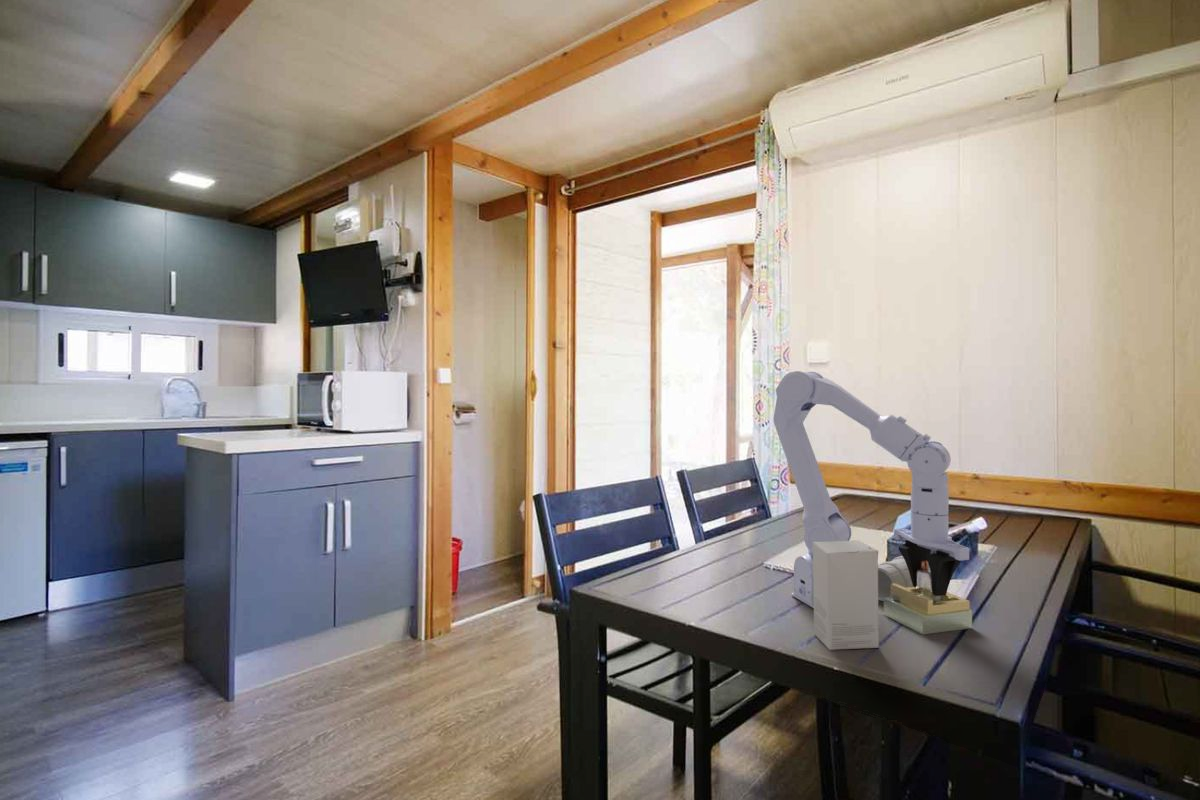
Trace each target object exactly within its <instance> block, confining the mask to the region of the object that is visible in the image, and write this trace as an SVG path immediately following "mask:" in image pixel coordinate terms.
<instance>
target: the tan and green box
mask: <svg viewBox="0 0 1200 800" xmlns="http://www.w3.org/2000/svg"><path fill="white" fill-rule="evenodd" d="M970 604H971V601H970V600H968V599H966V598H963V597H960V596H958V595H955V594H953V593H950V592H948V591H947V593H946V595H943V602H936V603H933V599H931V598H928V597H926V596H924V595H921V594H919V593H917V587H908V588H905V587H903V586H900V585H898V584H896V583H894V584H891V597H887V598H884V601H883V615H884V616H886V617H887V618H888V619H889V618H890V619H892V620H894V621H896V622H897V623H900V624H901V625H903V626H905V627H907V628H909V629H911V630H913V631H915V632H917V633H919V634H921V635H931V634H936V633H945V632H953V631H961V630H967V629H968V630H969V629H973V610H972V609H971V606H970Z"/></svg>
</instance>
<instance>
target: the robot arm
mask: <svg viewBox="0 0 1200 800" xmlns="http://www.w3.org/2000/svg"><path fill="white" fill-rule="evenodd" d="M775 394H776V400H775V406H774V407H775V408H774V414H773V425H774V427H775V430H776V432H777V435H778V438H779V441H780V444H781V447H782V450H783V453H784V456H785V458H786V461H787V464H788V466H789V470H790V473H791V474H792V478H793V481H794V485H795V486H796V490H797V492H798V495H799V497H800V500H801V503H802V506H803V512H802V523H803V527H804V535H803V540H804V543H805V546H806V548H807V552H806V553H805V554H804V555H800V556H797V557H796V558H795V560H794V564H793V592H791V596H793V598H795V599H798V600H799V601H801V602H803V604H805V605H808V606H809V607H811V608H813V609H814V579H813V542H830V541H851V539H852V528H851V525H850V523H848V521H847V520H846V518H844V517H843V516H842V514H841V512H840V510H839V507H838V506H837V505H836V504H835V502H834V501H833V500H832V498H831V496H830V494H829V491H828V488H827V486H826V483H825V480H824V477H823V474H822V472H821V470H820V469H821V468H820V466H819V462H818V460H817V457H816V455H815V453H814V450H813V447H812V444H811V440H810V439H809V436H808V433H807V430H806V428H805V425H804V421H805V420H806V418H807V417H808V415H809V413H810V411H811V410H812V408H814V407H815V406H816V405H824V406H831V407H833V408H834V409H837V410H838V411H840V413H843V414H844V415H846V416H847V417H848V418H850V419H852V420H854V421H855V422H857V423H858V424H860V425H861V426H862V427H864V428H866V429H868V430H869V434H870V437H871V440H872V441H873V442H874V443H876V444H877V445H878V446H880V447H881V448H883V449H884V450H886V451H887V452H888V453H890V454H891V455H893V457H895V458H896V459H898V460H900V461H901V462H906V463H907V467H908V469H909V470H910V472H911V485H910V529H907V528H904V527H902V528H900V527H899V528H894V529H893V538H894V540H896V541H903V542H904V544H902V545H901V544H900V545H898V551H899V553H900V554H901V556H903V558H904V560H905V562H906V564H907V567H908V570H909V573H910V577H911V581H912V585H913V586H914V587H917V569H918V568H920V560H927V561H928V568H930V571H931V579H932V591H933V595H935V596H942V595H946V593H947V592H948V589H949V585H950V582H951V580H952V577H953V575H954V573H955V571H956V569H957V568H958V567H959V565H960V564H961V562H962V561H969V560H970V547H967V546H964V545H962V544H961V543H960V544H959V543H958V542H956V541H954V540H953V538H952V536H949V514H950V513H949V510H950V509H949V507H950V506H949V500H950V499H949V498H950V497H949V494H950V493H949V489H950V488H949V486H948V483H949V476H948V472H946V471H947V470H948V468H949V467H950V465H951V454H950V453H949V450H948V449H947V448H946V447H945V446H944V445H943V444H942V443H941V442H939V441H935V440H934V441H933V440H931V439H932V437H931V436H930V435H928V434H927V433H926V434H922V433H920V432H919V431H917V430H916V429H914V428H913V427H911V426H910V425H908V424H907V423H906V422H907V419H906V418H904V417H903V416H901V415H900V416H895V415H893V414H888V415H881V414H879V413H878V412H876V411H875V410H874V409H872V407H870V406H869V405H867V404H865V403H864V402H863V401H862V400H860V399H858V398H857V397H856V396H855V395H853V394H852V393H850V392H849V391H848V390H846V389H845V388H843V387H842V386H841V385H839V384H838V383H836V382H835V381H833V380H831V379H828V378H826V377H824V376H822V375H821V374H820V373H818V372H816V371H806V372H804V371H801V370H794V371H790V372H788V373H787V374H785V375H784V376H783V377H782V378H781V380H780V382H779V383H778V385H777V387H776V388H775ZM930 440H931V441H930ZM932 551H933V552H935V553H932Z"/></svg>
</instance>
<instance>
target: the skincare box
mask: <svg viewBox="0 0 1200 800" xmlns="http://www.w3.org/2000/svg"><path fill="white" fill-rule="evenodd" d="M878 565H879V550H878V549H876V548H875V547H873V546H871V545H869V544H867V543H865V542H864V541H862V540H860V539H859V540H858V539H857V540H855V539H854V540H849V541H830V542H813V579H814V608H813V634H814V635H815V637H816V638H817V639H819V640H820V641H821V643H822V644H823V645H824V646H825V647H826V648H827V649H828V650H829V651H833V650H835V651H836V650H837V651H838V650H851V649H852V650H855V649H858V650H860V649H879V648H880V647H879V646H880V643H879V642H880V641H879V639H880V637H879V636H880V635H879V599H878Z"/></svg>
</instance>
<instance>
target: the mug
mask: <svg viewBox="0 0 1200 800" xmlns="http://www.w3.org/2000/svg"><path fill="white" fill-rule="evenodd" d="M894 583H896V584H898V585H900V586H903V587H905V588H908V587H914V586H913V585H912V581H911V577H910V573H909V570H908V567H907V564H906V562H905V560H904V558H903V556H902V555H900V556H897V557H895V558H893V559H891V561H883V562H881V563H878V601H881V602H884V598H887V597H891V584H894Z"/></svg>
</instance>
